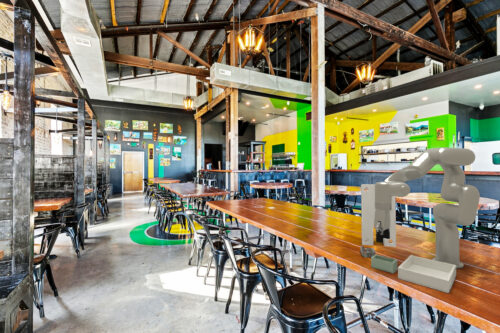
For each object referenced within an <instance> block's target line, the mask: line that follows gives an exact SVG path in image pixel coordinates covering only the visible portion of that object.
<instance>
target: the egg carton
mask: <svg viewBox="0 0 500 333" xmlns="http://www.w3.org/2000/svg"><path fill="white" fill-rule="evenodd" d="M359 246H360V254H361V256H362V257H364V258H365V259H366V258H371V257H373V256H374V255H376V253H377V252H376V250H375V248H373V247H366V248H365V246H364V245H361V244H360V245H359Z"/></svg>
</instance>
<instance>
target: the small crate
mask: <svg viewBox="0 0 500 333" xmlns="http://www.w3.org/2000/svg"><path fill="white" fill-rule="evenodd" d="M370 262H371V263H370V264H371V266H370V267H371V268H372V269H374V270H375V269H376V270H379V271H382V272H385V273H390V274H394V273H396V272H398V259H397V258H396V259H395V258H392V257H389V256H384V255H380V254H375V255H374V256H373V257H370Z"/></svg>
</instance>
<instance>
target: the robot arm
mask: <svg viewBox="0 0 500 333" xmlns="http://www.w3.org/2000/svg"><path fill="white" fill-rule="evenodd" d="M475 160H476V154H475V152H474V151H473V150H472V149H469V148H462V147H461V148H460V147H443V146H442V147H434V148H433V147H432V148H427V149H425V150H423V151H422V152H421V153H420V154H419V155H418V156H417V157H416V158H414V160H413V161H412V162H410V164H408V165H407V166H404V167H402V168H401V169H398V170H397V171H394V172H393V173H392V174H390V175H389V176H388V177H387V178H386V179H384V181H377V182H375V183H374V184H375V209H376V210H375V218H374V226H373V229H374V230H375V242H376V243H381V244H383V238H386V239H390V223H391V220H390V210H392V196H395V197H397V198H398V197H399V198H403V197H407V196H408V195H409V194H410V192H411V187H410V186H409V185H408V184H407V183H406V182H410V181H414V180H418V179H420V178H423V177H425V176H426V175H427V174H428V173H429V172H430V171H431V170H432V169H433V168H434V167H435V166H437V165H439V166H440V167H441V168H442V171H443V173H444V174H443V180H442V186H441V188H440V198H441V199H442V200H444V201H447V202H452V203H447V202H445V203H444V202H443V203H442V202H441V203H438V204H435V205H434V206H433V208H432V215H433V219H434V225H435V226H434V227H435V256H434V257H433V258H432V259H431V260H435V261H439V262H444V263H448V264H453V265H456V269H462V268H464V263H463V262H461V261H460V230H459V227H458V226H462V227H463V226H465V227H468V226H471V225H472V224H473V223H474V222H475V220H476V216H477V213H478V209H479V204H480V199H481V198H480V197H481V195H480V192H479V189H478V188H477V187H476V186H474V185H471V184H465V180H466V173H465V171H464V170H463V168H462V167H463V166H465V167H466V166H470V165H473V164H474V162H475ZM454 203H458V204H454ZM380 230H381V231H380ZM382 234H383V235H382ZM390 240H391V239H390Z"/></svg>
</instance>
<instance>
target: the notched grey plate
mask: <svg viewBox="0 0 500 333" xmlns="http://www.w3.org/2000/svg"><path fill="white" fill-rule="evenodd" d="M366 188H367V190H365V189H366ZM360 190H361V192H360V197H361V199H360V200H361V202H360V203H361V208H360V209H361V244H362V245H361V246H374V218H375V210H376V209H375V183H374V184H372V183H370V184H363V183H362V184H360ZM396 207H397V206H396V196H392V210H390V220H391V223H390V239H386V238H383V243H382V244H383V247H391V248H396V247H397V225H396V224H397V221H396V220H397V219H396V218H397V216H396V215H397V214H396V213H397V212H396V211H397V210H396V209H397V208H396ZM380 231H381V230H380ZM382 235H383V234H382ZM390 240H391V241H392V242H390Z"/></svg>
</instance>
